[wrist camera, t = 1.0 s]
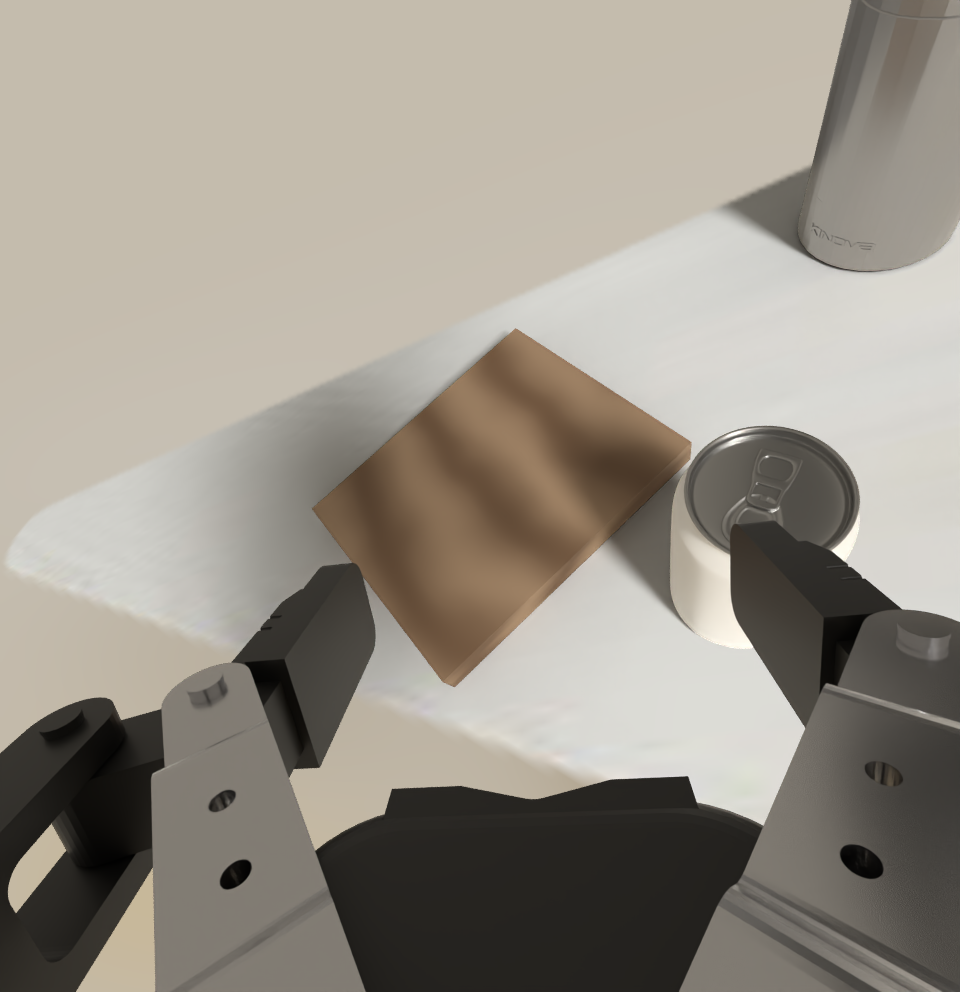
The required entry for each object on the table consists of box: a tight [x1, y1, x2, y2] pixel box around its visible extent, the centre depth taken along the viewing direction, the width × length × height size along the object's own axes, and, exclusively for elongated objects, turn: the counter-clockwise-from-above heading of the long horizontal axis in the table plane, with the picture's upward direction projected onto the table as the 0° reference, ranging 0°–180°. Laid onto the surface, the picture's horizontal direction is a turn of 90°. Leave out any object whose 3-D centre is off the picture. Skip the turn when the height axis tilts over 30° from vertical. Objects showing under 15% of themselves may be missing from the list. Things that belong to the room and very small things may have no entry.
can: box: [670, 426, 860, 649], centre depth 24 cm, size 6×6×12 cm
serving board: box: [312, 329, 691, 687], centre depth 36 cm, size 20×16×2 cm
